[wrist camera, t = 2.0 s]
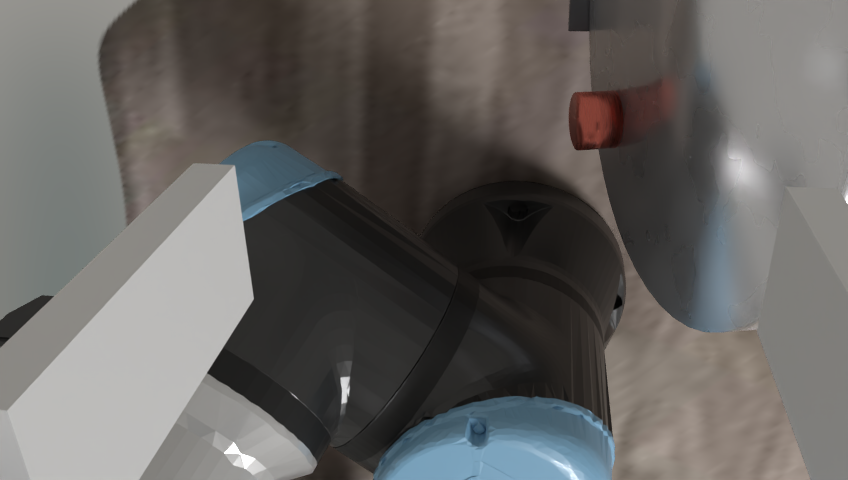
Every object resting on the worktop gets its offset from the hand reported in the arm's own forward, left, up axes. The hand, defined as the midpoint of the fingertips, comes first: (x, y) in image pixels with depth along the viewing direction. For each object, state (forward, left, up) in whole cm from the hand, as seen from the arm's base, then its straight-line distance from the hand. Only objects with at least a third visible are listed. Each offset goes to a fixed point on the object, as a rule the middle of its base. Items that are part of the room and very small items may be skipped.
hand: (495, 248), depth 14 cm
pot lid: (+4, -4, -16) cm, 17 cm away
